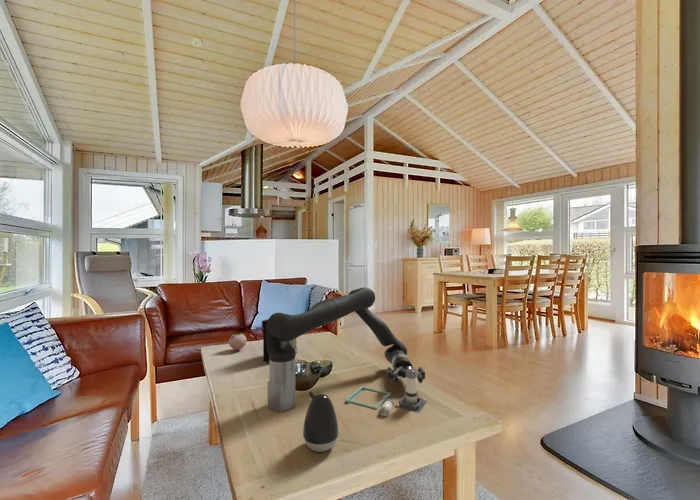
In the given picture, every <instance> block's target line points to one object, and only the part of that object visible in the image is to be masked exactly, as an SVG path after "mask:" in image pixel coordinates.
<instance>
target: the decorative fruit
mask: <svg viewBox="0 0 700 500" xmlns="http://www.w3.org/2000/svg"><path fill="white" fill-rule="evenodd" d="M228 339H229V340H228V345H229V346H230V348H231V349H233V350H235V351H240V350H242V349H243V348H244V347H245V346H246V344H247V337H246V334H245V333H242V332H240V333H239V332H238V333H237V334H231V336H230V337H229V338H228Z"/></svg>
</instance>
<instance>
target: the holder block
mask: <svg viewBox="0 0 700 500" xmlns="http://www.w3.org/2000/svg"><path fill="white" fill-rule="evenodd" d="M427 403H428V400H424V398H423V397H419V396H417V405H413V404H408V403H406V393H405V394H404V395H403V396H402V397H401V398H400V399H399V400H398V402H397V403H396V405H395V404H394V408H397V409H401V410H402V409H403V410H405V411H410V412H414V413H417V414H419V413H421V411H422V410H423V408H424V407H425V405H427Z"/></svg>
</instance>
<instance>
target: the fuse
mask: <svg viewBox="0 0 700 500" xmlns="http://www.w3.org/2000/svg"><path fill="white" fill-rule="evenodd" d="M394 407H395V404H394V401H393V400H392V399H390V398H387V399H386V400H385V401H384V402H383V403H382V405H381V406H380V407H379V408H380V409H379V410H378V416H383V417H389V415H390V413H391V411H392V409H393V408H394Z"/></svg>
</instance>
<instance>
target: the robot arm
mask: <svg viewBox="0 0 700 500" xmlns="http://www.w3.org/2000/svg"><path fill="white" fill-rule="evenodd" d="M375 301H376V294H375V292H374V291H373V290H372V289H371V288H369V287H365V286H363V287H360V288H357V289H353V290H351V291H350V292H349V293H348V294H346V295H340V296H333V297H331V298H327V299H324V300H321V301H318V302H317V303H315V304H313V306H312V307H310V309H308V310H307V311H305V312H302V313H297V314H293V315H292V314H288V313H283V312H275V313H273V314H271V315H270V316H269V318H268V322H267V326H266V339H267V350H268V353H269V362H268V363H269V364H268V365H269V367H268V369H269V375H268V378H269V381H267V384H266V386H267V409H269V410H271V411H275V412H278V413H282V412H285V411H288V410H292V409H293V408H294V407H295V406H296V354H295V349H294V348H293V347H292V346H291V344H290V342H289V341H291V340H293V339H295V338H296V339H297V338H299V337H301V336H302V335H304V334H306V333H308V332H310V331H312V330H314V329H317V328H319V327H322V326H325V325H328V324H330V323H333V322H335V321H337V320H340V319H342V318H344V317H346V316H348V315H349V314H351V313H354V312H355V313H356V314H357V315H358V316H359V318H360V319H361V320H362V321H363V322H364V323H365V324H366V325H367V326H368V328H369V329H370V330H371V331H372V333H373V335H374V336H375V338H377V340H378V341H379V343H380V344H381V346H382V347H388V348H386V349H385V351H384V357H385V359H386V360H387V362H388V363H390V364H391V365H392V368H391V367H390V366H388V367H387V369H386V370H387V372H386V373H387V379H388V380H392V379H393V381H394V382H395V383H396V384H399V380H400V379H406V369H415V370H417V382H418V383H419V384H422V383H423V381H424V380H426V371H425V370H424V369H423V368H422V367H419V366H418V368H417V369H416V368H414V366H413V364H412V362H411V361H410V359H409V358H408V348H407V346H406V345H405V343H403V342H401V341H400V340H399V339H398V338H397V337H396V336H395V334H393V332H392V331H391V329H390V327H389V326H388V325H387V324H386V322H385V321H383V320H382V319H380V318H379V317H378V316H376V315H375V314H374V313H373V312H372V311H371V310H370V309H369V308H371V307H372V306H373V305H374V303H376V302H375Z"/></svg>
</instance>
